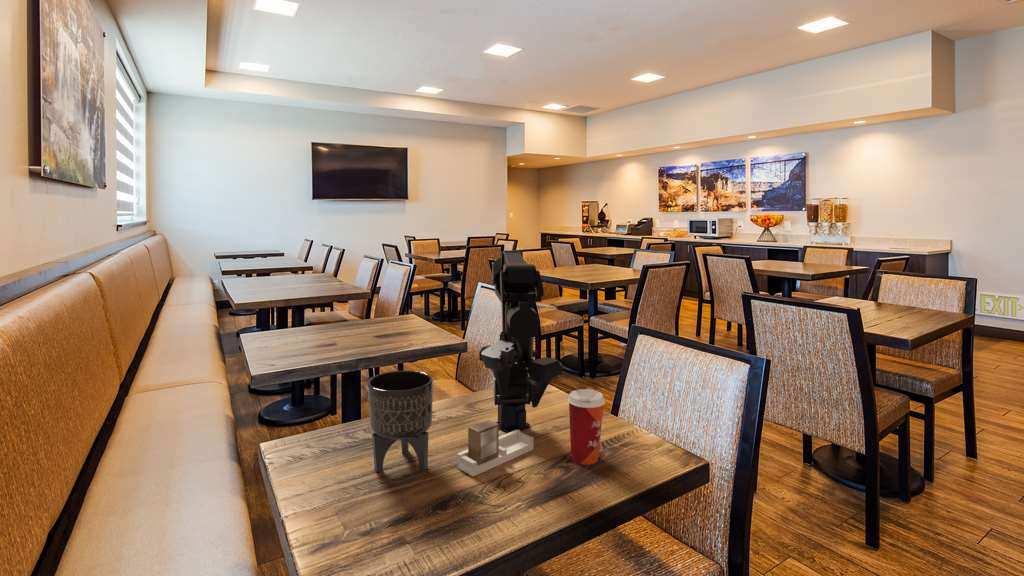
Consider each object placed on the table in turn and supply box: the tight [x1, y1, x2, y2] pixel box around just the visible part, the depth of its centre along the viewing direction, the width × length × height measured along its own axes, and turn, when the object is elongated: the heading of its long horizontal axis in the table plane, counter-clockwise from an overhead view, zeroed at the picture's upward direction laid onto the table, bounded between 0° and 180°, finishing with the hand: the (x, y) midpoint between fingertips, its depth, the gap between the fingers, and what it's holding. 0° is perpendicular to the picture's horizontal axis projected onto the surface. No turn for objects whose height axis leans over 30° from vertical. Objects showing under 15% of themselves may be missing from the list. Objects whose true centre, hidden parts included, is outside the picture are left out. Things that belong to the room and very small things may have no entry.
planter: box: [366, 370, 434, 473], centre depth 109 cm, size 13×13×18 cm
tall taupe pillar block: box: [467, 419, 500, 465], centre depth 109 cm, size 6×3×7 cm, turn 134°
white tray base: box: [456, 429, 535, 477], centre depth 113 cm, size 5×17×3 cm, turn 134°
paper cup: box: [567, 388, 606, 466], centre depth 112 cm, size 8×8×14 cm
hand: (518, 400), depth 111 cm, fingers open, 9 cm apart
